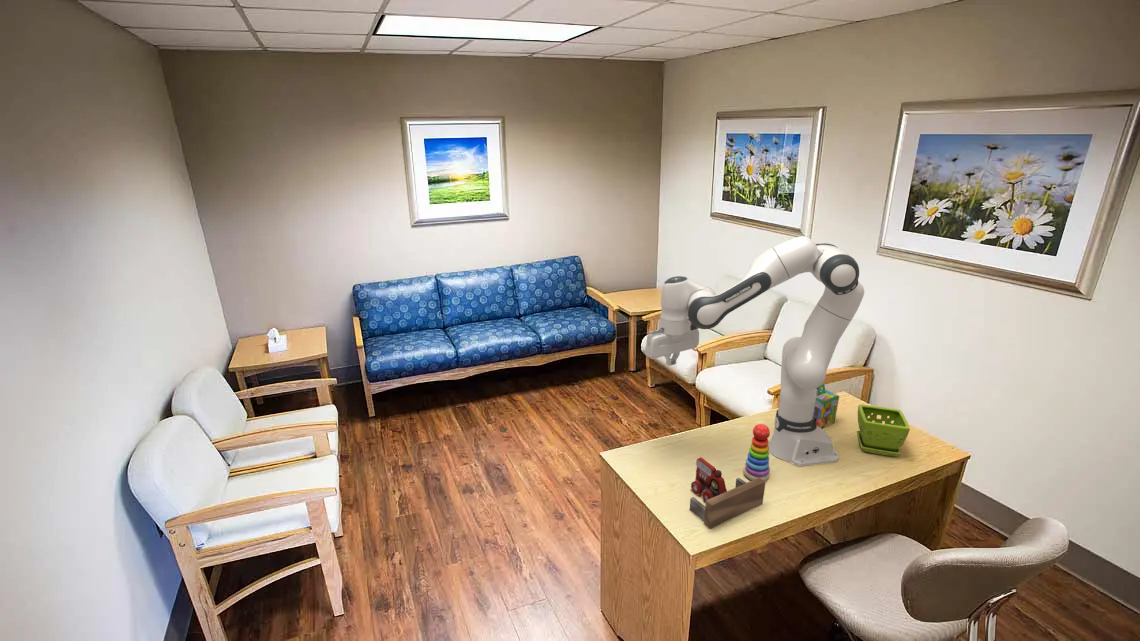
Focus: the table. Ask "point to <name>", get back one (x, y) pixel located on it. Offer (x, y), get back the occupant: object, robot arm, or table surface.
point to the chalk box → (825, 406)
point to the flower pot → (881, 430)
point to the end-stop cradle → (730, 502)
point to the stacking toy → (758, 454)
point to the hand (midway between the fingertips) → (671, 364)
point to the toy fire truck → (708, 480)
